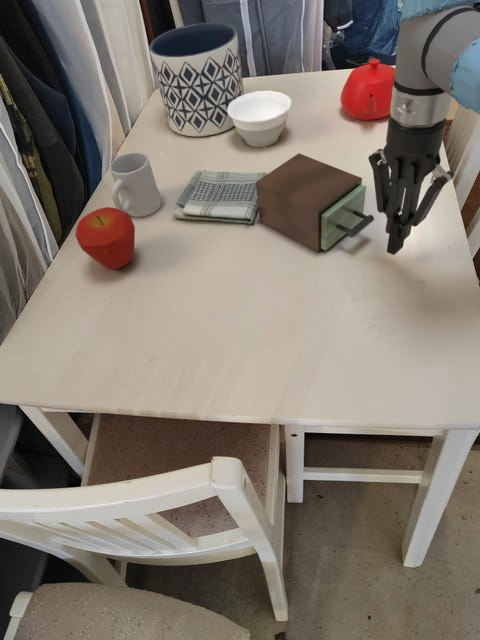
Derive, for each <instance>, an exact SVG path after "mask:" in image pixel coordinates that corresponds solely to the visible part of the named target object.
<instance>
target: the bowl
mask: <svg viewBox="0 0 480 640" xmlns="http://www.w3.org/2000/svg"><path fill="white" fill-rule="evenodd" d="M292 104H293V103H292V99H291V97H289V95H288V94H286V93H284V92H280V91H276V90H258V91H252V92H248V93H244V95H242V96H240V97H238V98H236V99H235V100H233V101H232V102H231V103H230V104H229V106H228V108H227V113H228V115H229V116H230V117H231V118H233V123H234V125H235V126H234V127H235V130H236V131H237V133H238V134H239V135H240V136H241V137H242V138H243V139H244V140H245V143H246V144H247V145H248V146H250V147H254V148H263V147H268V146H271V145H273V144H275V143H276V142H278V141H279V138H280V134H281V133H282V132H283V130H284V128H285V126H286V124H287V119H288V114H289V111H290V109H291V108H292Z"/></svg>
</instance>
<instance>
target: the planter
mask: <svg viewBox="0 0 480 640" xmlns="http://www.w3.org/2000/svg"><path fill="white" fill-rule="evenodd" d="M239 46H240V45H239V39H238V32H237V30H236V28H235V27H234V26H232V25H230V24H227V23H222V22H199V23H193V24H188V25H183V26H180V27H179V26H178V27H175V28H173V29H170V30H168V31H165V32H163V33H162V34H160V35H158V36H157V37H155V38H154V39H153V40H152V41H151V42H150V44H149V48H148V49H149V53H150V59H151V63H152V67H153V70H154V75H155V78H156V81H157V85H158V89H159V93H160V97H161V102H162V105H163V108H164V112H165V116H166V120H167V124H168V126H169V128H170V129H171V130H172V131H174V132H175V133H177V134H179V135H182V136H186V137H208V136H214V135H217V134H220V133H223V132H225V131H228V130H231V129H232V128H234V127H235V125H234V123H233V118H231V117H230V116H229V115H228V113H227V108H228V106H229V104H230V103H231V102H232V101H233V100H235V99H236V98H238V97H240V96H242V95H245V89H244V80H243V72H242V70H243V69H242V63H241V56H240V55H241V53H240V47H239Z"/></svg>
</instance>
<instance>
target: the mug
mask: <svg viewBox="0 0 480 640" xmlns="http://www.w3.org/2000/svg"><path fill="white" fill-rule="evenodd" d="M109 170H110V172H111V176H112V178H113V181H114V184H113V185H112V187H111V198H112V201H113V203H114V206H115V208H116V209H119V210H121V211H124V212H126V213H128V215H129V216H131V217H134V218H143V217H147V216H150V215H153V214H154V213H155V212H157V211H158V210H159V209H160V207H161V206H162V203H163V202H162V197H161V195H160V191H159V188H158V186H157V182H156V179H155V176H154V172H153V170H152V166H151V163H150V159H149V157H148V156H147V155H146V154H145V153H142V152H128V153H125V154H122V155H119V156H118V157H116V158H114V159H113V161H111V163H110V165H109ZM120 199H121V201H120ZM121 202H122V204H123V205H122V204H121Z"/></svg>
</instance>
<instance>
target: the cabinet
mask: <svg viewBox="0 0 480 640" xmlns="http://www.w3.org/2000/svg"><path fill="white" fill-rule="evenodd" d="M362 183H363V177H360V176H358V175H355V174H353V173H350V172H348V171H345V170H343V169H340V168H338V167H335V166H333V165H330V164H327V163H325V162H323V161H320V160H318V159H315V158H312V157H309V156H308V155H305V154H302V153H297V154H295V155H294V156H292V157H290V158H289V159H288V160H286V161H285V162H283V163H282V164H280V165H278V166H277V167H276V168H274V169H273V170H271V171H269V172H268V173H267V175H266V176H264V177H263V178H261V179H260V180H258V181H257V182H256V190H257V199H258V215H259V222H260V223H261V224H263V225H265V226H267V227H268V228H270V229H273V230H274V231H276V232H277V233H280V234H282V235H284V236H285V237H287V238H289V239H291V240H292V241H295V242H297V243H298V244H301V245H303V246H304V247H305V248H307V249H310V250H311V251H313V252H315V253H320V252H321V251H322V250H323V249H321V240H320V239H321V213H322V212H323V211H324V210H326V209H327V208H328V207H330V206H331V205H332V204H334V203H335V202H336V201H337V200H339V199H340V198H341V197H343V196H344V195H345V194H347V193H348V192H349V191H350V190H352V191H353V190H354V189H355V188H357V187H358V186H359V185H363V184H362Z"/></svg>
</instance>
